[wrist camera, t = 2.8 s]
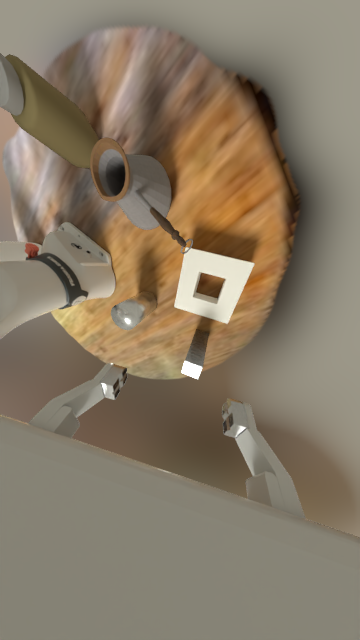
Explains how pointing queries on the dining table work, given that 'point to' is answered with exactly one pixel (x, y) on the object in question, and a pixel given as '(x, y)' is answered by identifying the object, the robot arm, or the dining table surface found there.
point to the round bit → (133, 310)
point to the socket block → (217, 266)
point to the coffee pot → (134, 186)
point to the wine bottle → (15, 251)
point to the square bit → (196, 354)
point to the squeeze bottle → (45, 112)
